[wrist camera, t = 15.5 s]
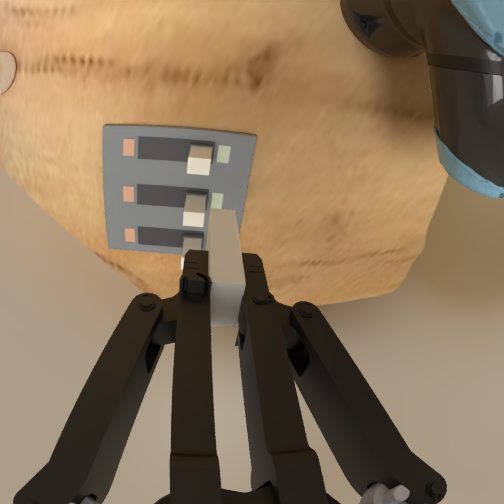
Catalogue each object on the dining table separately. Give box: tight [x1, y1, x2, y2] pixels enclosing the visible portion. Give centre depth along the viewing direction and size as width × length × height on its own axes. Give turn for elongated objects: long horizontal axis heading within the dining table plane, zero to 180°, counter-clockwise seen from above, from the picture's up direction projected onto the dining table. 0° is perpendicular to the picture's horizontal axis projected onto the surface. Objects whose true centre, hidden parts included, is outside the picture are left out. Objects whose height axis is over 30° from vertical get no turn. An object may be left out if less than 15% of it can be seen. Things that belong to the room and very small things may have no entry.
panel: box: [103, 124, 257, 255], centre depth 41 cm, size 20×21×1 cm
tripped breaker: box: [181, 233, 203, 269], centre depth 43 cm, size 2×3×6 cm
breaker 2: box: [183, 191, 207, 227], centre depth 39 cm, size 2×3×6 cm
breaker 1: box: [187, 143, 214, 175], centre depth 35 cm, size 2×3×6 cm
